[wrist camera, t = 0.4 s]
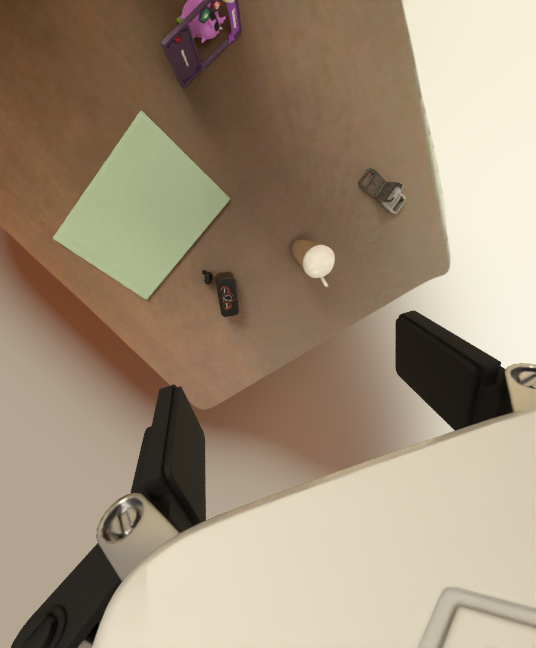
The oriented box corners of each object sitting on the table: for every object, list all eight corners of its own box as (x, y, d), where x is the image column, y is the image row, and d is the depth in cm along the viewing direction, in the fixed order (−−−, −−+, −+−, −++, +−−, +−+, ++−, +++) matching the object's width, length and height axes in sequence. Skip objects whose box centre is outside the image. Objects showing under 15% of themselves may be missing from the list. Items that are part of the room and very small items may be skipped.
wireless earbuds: (231, 265, 45) (233, 271, 42) (236, 306, 48) (239, 314, 45) (201, 269, 44) (201, 275, 41) (209, 310, 47) (210, 319, 44)
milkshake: (291, 270, 47) (311, 291, 38) (285, 238, 44) (305, 254, 36) (316, 262, 47) (342, 282, 39) (312, 231, 45) (339, 244, 36)
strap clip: (404, 198, 45) (422, 200, 42) (392, 215, 46) (409, 219, 43) (368, 166, 42) (385, 165, 38) (356, 185, 43) (371, 186, 39)
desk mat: (53, 237, 38) (52, 238, 37) (141, 110, 34) (140, 109, 33) (146, 299, 44) (146, 300, 44) (230, 198, 40) (230, 198, 40)
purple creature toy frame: (168, 53, 27) (240, -18, 26) (130, 1, 26) (203, -75, 25) (187, 94, 34) (245, 39, 32) (157, 54, 33) (216, -5, 32)
